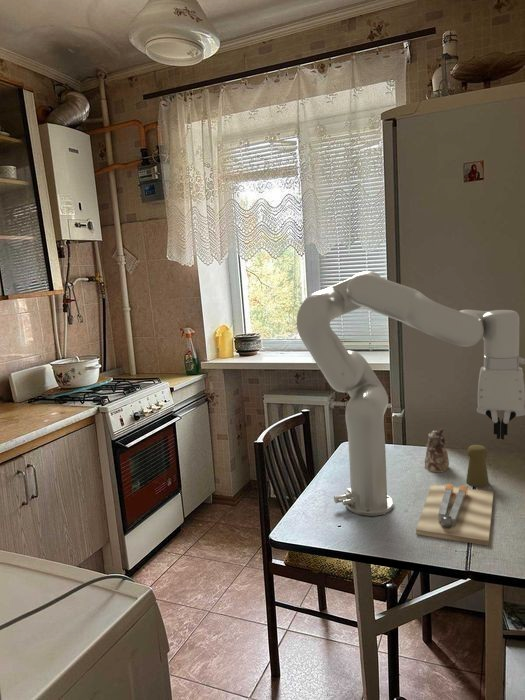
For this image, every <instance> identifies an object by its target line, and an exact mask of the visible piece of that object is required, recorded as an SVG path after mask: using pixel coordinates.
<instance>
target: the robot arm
mask: <svg viewBox="0 0 525 700" xmlns="http://www.w3.org/2000/svg"><path fill="white" fill-rule="evenodd" d="M361 308H363V309H366V310H368V311H370V312H375V313H377V314H379V315H382V316H384V317H388V318H391V319H393V320H396V321H398V322H400V323H403V324H404V325H406V326H409V327H411V328H414V329H416V330H418V331H420V332H421V333H424V334H427V335H429V336H431V337H434V338H436V339H438V340H442V341H444V342H447V343H450V344H452V345H456V346H457V347H466V348H467V347H472V346H474V345H476V344H478V343H479V342H480V341H481V340H483V366H481V367H480V370H479V375H478V384H477V406H476V412H477V414H480V415H486V416H487V417H488V418H489V419H490V420H491V421H492V422H493V435H496V439H497V440H500V439H501V440H505V436H508V424H509V423H510V421H512V420H513V419H514V418H515V417H522V416H525V378H524V377H525V375H524V372H523V368H522V367H521V365H525V358H523V357H521V356H520V315H519V313H518V312H517V311H516V310H511V309H494V310H477V309H476V310H475V309H462V310H457V309H454V308H452V307H448V306H445V305H443V304H441V303H439V302H436V301H435V300H433V299H430V298H429V297H427V295H425V294H423V293H422V292H420V291H419V290H417V289H415V288H412V287H410V286H407V285H404V284H400V283H397V282H395V281H391V280H389V279H387V278H384V277H382V276H381V275H380V274H378V273H377V272H375V271H371V270H367V271H366V270H365V271H361V272H358V273H355V274H354V275H353V276H352V277H349V278H348V279H345V280H343V281H341V282H339V283H335V284H333V285H331V286H328V287H327V288H323V289H321V290H318V291H315V292H313V293H311V294H309V295H308V296H307V297H306V298H305V299H304V301H303V302H302V303H301V304H300V307H299V309H298V311H297V315H296V330H297V332H298V335H299V338H300V340H301V341H302V343H303V344H304V346H305V347H306V349H307V350H308V352H309V354H310V355H311V357H312V359H313V360H314V362H315V364H316V365H317V367H318V368H319V370H320V372H321V373H322V375H323V376H324V378H325V380H326V381H327V383H328V384H329V386H330V388H332V389H333V390H334V391H335V392H338V393H347V394H348V395H349V397H350V398H349V400H348V401H347V404H346V407H345V412H344V413H345V423H346V429H347V441H348V458H349V461H348V462H349V478H350V487H347V490H346V491H347V492H344V494H343V493H342V494H338V495H334V496H333V501H334V503H335V504H339V503H342V505H343V506H345V507H346V508H347V509H348V510H349V511H350V512H352V513H354V514H357V515H360V516H361V515H362V516H368V517H369V516H370V517H373V516H376V517H377V516H381V515H384V514H387V513H388V512H390V511H392V509H393V508H394V500H393V498H392V497H391V496H389V495H388V487H387V486H388V484H387V482H388V480H387V460H386V458H387V457H386V456H387V455H386V453H387V452H386V451H387V450H386V439H385V437H386V436H385V435H386V434H385V424H384V419H385V418H384V415H385V413H386V411H387V408H388V405H389V396H388V392H387V390H386V389H385V387H384V385H383V384H382V382H381V381H380V380H379V378H378V376H377V375H376V373H375V372H374V369H372V367H371V365H370V364H369V362H368V361H367V359H365V358H364V356H362V354H360V353H359V352H357V351H354V350H347V349H346V347H345V346H344V344H343V342H342V341H341V339H340V338H339V336H338V335H337V334H336V333H335V331H334V330H333V329H332V327H331V321H333V320H335V319H337V318H339V317H341V316H344V315H346V314H348V313H351V312H354V311H355V310H357V309H361ZM498 411H499V412H504V413H503V417H502V418H501V420H500V417H499V414H498Z"/></svg>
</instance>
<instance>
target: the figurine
mask: <svg viewBox="0 0 525 700" xmlns="http://www.w3.org/2000/svg"><path fill="white" fill-rule="evenodd" d="M443 432H444V430H443V429H442V428H439V430H435V429H434V430H432V431H430V432H429V433H428V435H427V436H428V439H427V444H425V448H426V452H425V458H424V468H425V469H424V470H427V471H429V472H434V473H442V472H446V471H447V470H448V469H449V467H450V459H449V455H448V451H447V448H446V446H445V444H446V439H445V437H444V436H443Z"/></svg>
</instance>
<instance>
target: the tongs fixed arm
mask: <svg viewBox="0 0 525 700" xmlns="http://www.w3.org/2000/svg"><path fill="white" fill-rule="evenodd" d="M445 486H446V487H445V492H444V496H443V499H442V502H441V506H440V509H439V513H438V521H440V522H441V516H443V515H447V514H448V510H449V506H450V502H451V498H452V496H453V492H454V489H453V487H454V483H453V484H452V483H445Z"/></svg>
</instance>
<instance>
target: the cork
mask: <svg viewBox="0 0 525 700" xmlns="http://www.w3.org/2000/svg"><path fill="white" fill-rule="evenodd" d="M467 455H468V457H469V459H468V465H467V466H468V467H467V471H466V473H467V474H466V480H465V481H466V484H467V486H471V487H474V488H486V487H488V486H489V475H488V468H487V461H486V458H487V456H488V449H487V448H486V447H485V446H484V445H481V444H472V445H470V446H468V448H467Z"/></svg>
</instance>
